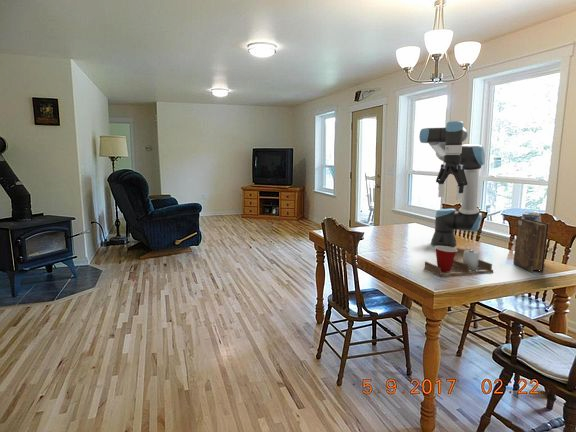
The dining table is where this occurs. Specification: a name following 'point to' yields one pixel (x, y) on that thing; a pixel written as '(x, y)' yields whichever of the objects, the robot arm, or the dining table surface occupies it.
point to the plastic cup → (445, 257)
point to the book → (531, 244)
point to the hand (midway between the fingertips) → (449, 198)
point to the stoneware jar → (471, 259)
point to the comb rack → (459, 268)
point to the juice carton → (532, 216)
